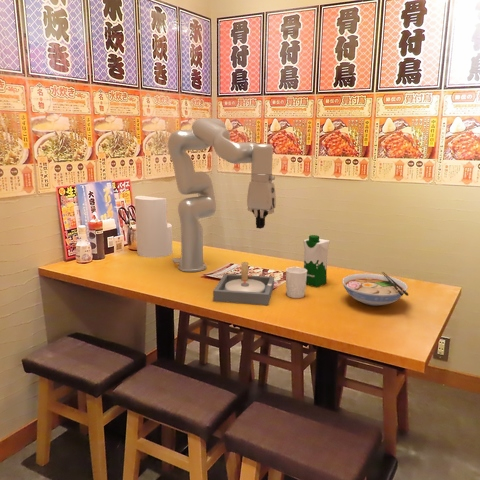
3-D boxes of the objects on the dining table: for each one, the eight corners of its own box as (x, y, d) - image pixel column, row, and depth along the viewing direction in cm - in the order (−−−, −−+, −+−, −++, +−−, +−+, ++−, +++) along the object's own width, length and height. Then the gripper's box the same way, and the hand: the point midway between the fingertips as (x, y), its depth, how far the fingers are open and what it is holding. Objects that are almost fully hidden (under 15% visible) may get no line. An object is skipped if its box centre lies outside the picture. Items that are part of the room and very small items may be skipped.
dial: (266, 297, 166) (266, 273, 164) (225, 297, 165) (225, 273, 163) (263, 283, 180) (263, 261, 178) (225, 283, 180) (225, 261, 178)
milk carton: (299, 283, 185) (301, 235, 180) (312, 278, 191) (314, 231, 187) (317, 288, 179) (320, 239, 174) (330, 283, 186) (332, 235, 181)
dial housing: (213, 301, 165) (213, 290, 164) (224, 283, 184) (224, 273, 183) (268, 305, 162) (268, 294, 161) (273, 286, 181) (274, 276, 180)
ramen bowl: (335, 289, 178) (336, 269, 176) (394, 291, 178) (396, 270, 176) (347, 315, 154) (349, 292, 152) (416, 317, 153) (418, 294, 151)
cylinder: (155, 259, 216) (153, 201, 209) (129, 253, 225) (127, 197, 218) (179, 251, 230) (178, 196, 223) (154, 246, 239) (152, 193, 232)
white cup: (292, 300, 167) (293, 274, 165) (281, 293, 174) (281, 268, 171) (310, 296, 170) (311, 271, 168) (298, 290, 177) (299, 265, 175)
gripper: (284, 179, 165) (282, 228, 170) (249, 176, 173) (248, 223, 177) (274, 181, 159) (273, 232, 163) (238, 177, 167) (237, 226, 171)
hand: (260, 227), depth 170 cm, fingers closed
